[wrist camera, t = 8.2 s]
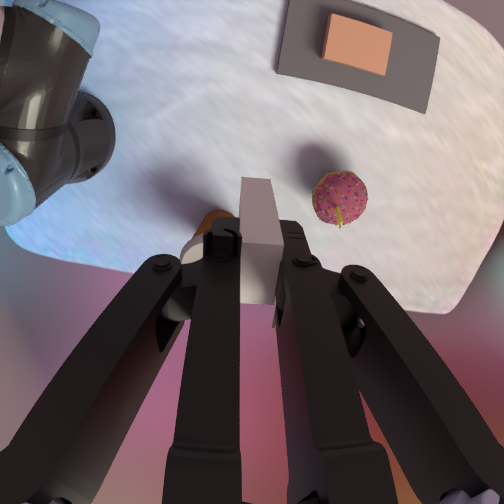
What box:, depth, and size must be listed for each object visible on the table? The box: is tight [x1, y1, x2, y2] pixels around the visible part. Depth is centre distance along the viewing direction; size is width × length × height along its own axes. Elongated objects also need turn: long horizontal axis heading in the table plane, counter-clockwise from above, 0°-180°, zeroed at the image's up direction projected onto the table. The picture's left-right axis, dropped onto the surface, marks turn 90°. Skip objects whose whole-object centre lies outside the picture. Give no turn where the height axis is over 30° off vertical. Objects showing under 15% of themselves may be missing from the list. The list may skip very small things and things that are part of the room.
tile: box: [321, 14, 393, 76], centre depth 34 cm, size 2×7×9 cm
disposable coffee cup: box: [180, 211, 234, 264], centre depth 47 cm, size 10×10×12 cm
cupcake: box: [312, 171, 368, 228], centre depth 43 cm, size 9×8×12 cm
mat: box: [277, 0, 440, 114], centre depth 36 cm, size 24×14×1 cm, turn 82°
